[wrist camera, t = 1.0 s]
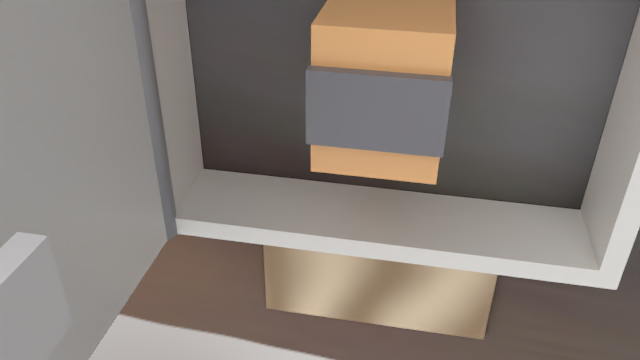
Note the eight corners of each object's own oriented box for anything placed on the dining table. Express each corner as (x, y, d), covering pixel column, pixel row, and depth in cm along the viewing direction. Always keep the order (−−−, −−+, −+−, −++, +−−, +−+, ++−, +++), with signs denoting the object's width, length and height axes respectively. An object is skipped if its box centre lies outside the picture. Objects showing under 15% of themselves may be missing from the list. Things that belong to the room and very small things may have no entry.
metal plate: (267, 304, 40) (266, 308, 39) (263, 216, 36) (261, 220, 35) (483, 334, 37) (483, 339, 37) (502, 244, 34) (503, 249, 33)
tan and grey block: (339, 92, 31) (305, 177, 24) (343, -28, 28) (305, 28, 20) (441, 101, 30) (438, 191, 23) (457, -22, 27) (459, 39, 20)
